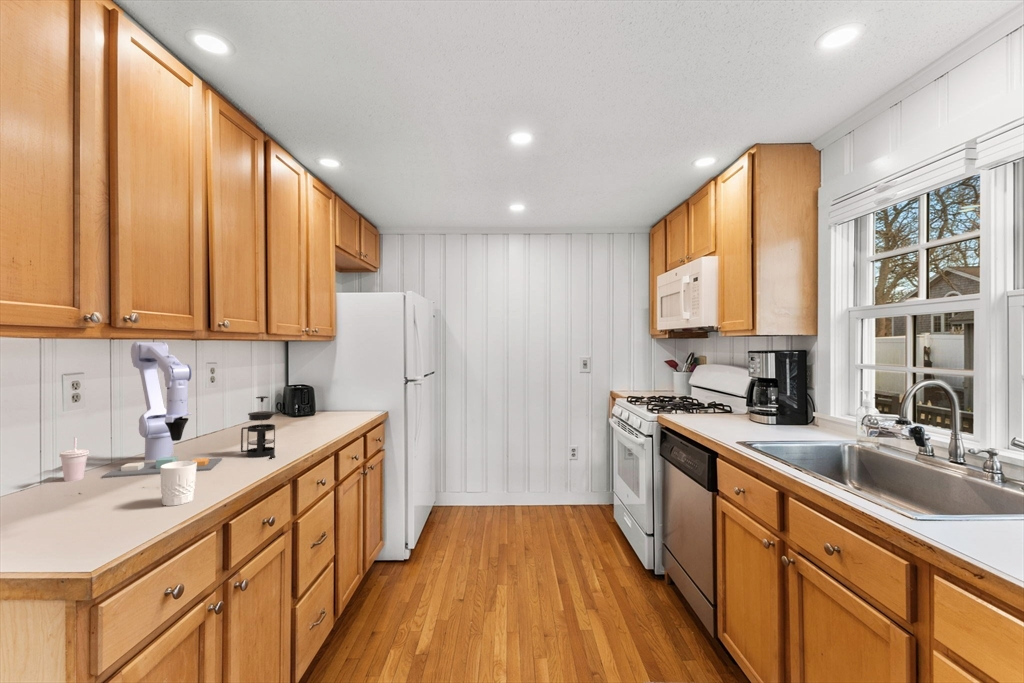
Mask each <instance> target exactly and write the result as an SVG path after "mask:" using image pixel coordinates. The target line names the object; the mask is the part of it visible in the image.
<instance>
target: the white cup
mask: <svg viewBox="0 0 1024 683" xmlns="http://www.w3.org/2000/svg"><path fill="white" fill-rule="evenodd" d="M196 469H197V462H196V461H183V460H177V462H171V463H167V464H164V465H162V466H160V472H161V474H160V489H161V490H160V493H161V504H162V505H163V506H165V505H166V506H167V507H174V506H182V505H185V504H189V503H190V502H193V500H194V498H195V488H196V480H197V471H196Z"/></svg>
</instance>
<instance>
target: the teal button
mask: <svg viewBox="0 0 1024 683" xmlns="http://www.w3.org/2000/svg"><path fill="white" fill-rule="evenodd" d="M177 461H178V456H174V455H173V456H170V457H161V458H159V459H158V460H155V462H156V469H160V466H162V465H164V464H167V463H171V462H177Z"/></svg>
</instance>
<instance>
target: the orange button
mask: <svg viewBox="0 0 1024 683" xmlns="http://www.w3.org/2000/svg"><path fill="white" fill-rule="evenodd" d="M209 459H210V458H209V457H206V458H205V457H204V458H203V457H202V458H193V459H191V460H192V461H196V462H197V466H205V465H207V464H208V463H209Z"/></svg>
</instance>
